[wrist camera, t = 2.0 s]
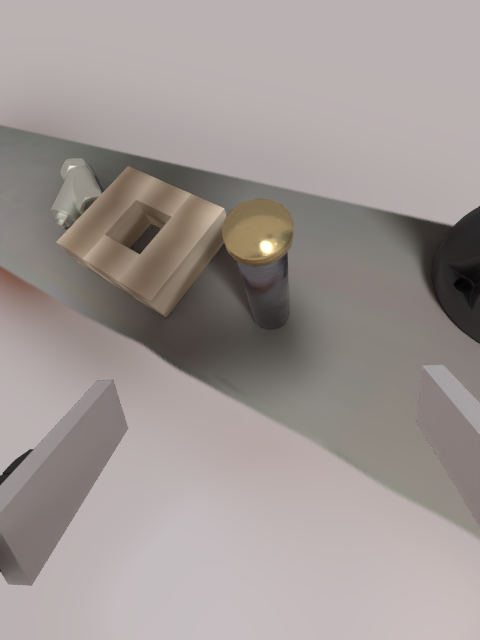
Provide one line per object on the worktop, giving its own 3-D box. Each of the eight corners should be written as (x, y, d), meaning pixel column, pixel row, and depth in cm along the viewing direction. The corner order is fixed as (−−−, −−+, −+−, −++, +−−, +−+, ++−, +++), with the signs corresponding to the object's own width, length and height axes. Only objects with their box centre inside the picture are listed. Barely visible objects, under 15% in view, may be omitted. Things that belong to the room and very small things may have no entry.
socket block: (231, 233, 36) (224, 208, 32) (166, 317, 33) (150, 301, 29) (143, 191, 41) (128, 165, 37) (79, 262, 38) (56, 242, 34)
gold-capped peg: (301, 305, 31) (306, 214, 19) (278, 341, 30) (267, 269, 18) (264, 285, 33) (247, 190, 21) (240, 319, 32) (207, 239, 20)
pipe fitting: (72, 241, 40) (116, 212, 40) (48, 222, 36) (97, 190, 36) (55, 202, 43) (96, 175, 43) (31, 181, 40) (76, 151, 40)
